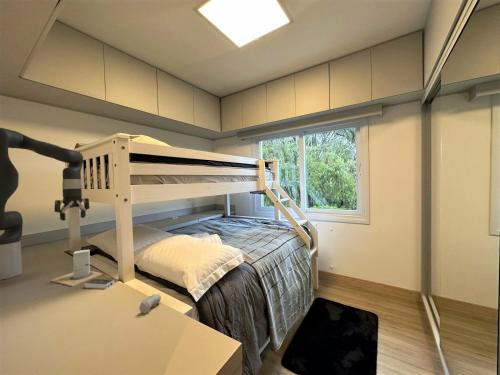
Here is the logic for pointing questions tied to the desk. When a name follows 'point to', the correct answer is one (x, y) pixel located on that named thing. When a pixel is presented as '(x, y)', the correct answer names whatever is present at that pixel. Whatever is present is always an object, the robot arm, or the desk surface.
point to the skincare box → (81, 263)
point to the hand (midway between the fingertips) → (73, 219)
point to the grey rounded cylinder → (149, 303)
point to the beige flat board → (75, 279)
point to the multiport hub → (99, 284)
